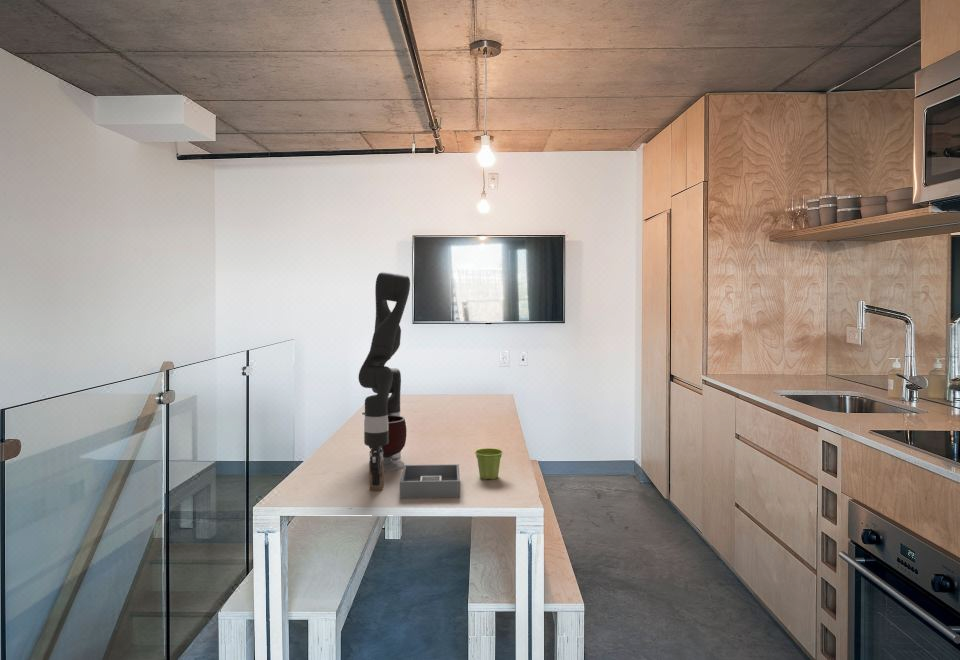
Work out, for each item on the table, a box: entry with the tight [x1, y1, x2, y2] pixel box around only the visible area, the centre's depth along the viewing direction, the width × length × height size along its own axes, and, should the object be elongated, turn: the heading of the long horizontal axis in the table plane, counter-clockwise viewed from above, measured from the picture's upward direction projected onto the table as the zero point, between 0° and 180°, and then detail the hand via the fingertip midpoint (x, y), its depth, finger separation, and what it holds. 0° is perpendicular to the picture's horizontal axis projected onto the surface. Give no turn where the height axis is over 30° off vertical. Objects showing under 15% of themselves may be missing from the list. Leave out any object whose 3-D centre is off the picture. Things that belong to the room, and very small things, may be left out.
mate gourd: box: [362, 411, 407, 472], centre depth 218 cm, size 16×14×20 cm
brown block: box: [368, 458, 385, 491], centre depth 195 cm, size 4×4×9 cm
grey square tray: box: [399, 463, 461, 499], centre depth 195 cm, size 18×18×5 cm
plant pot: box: [474, 447, 504, 480], centre depth 207 cm, size 9×9×9 cm
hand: (376, 482), depth 195 cm, fingers closed on brown block, 4 cm apart
